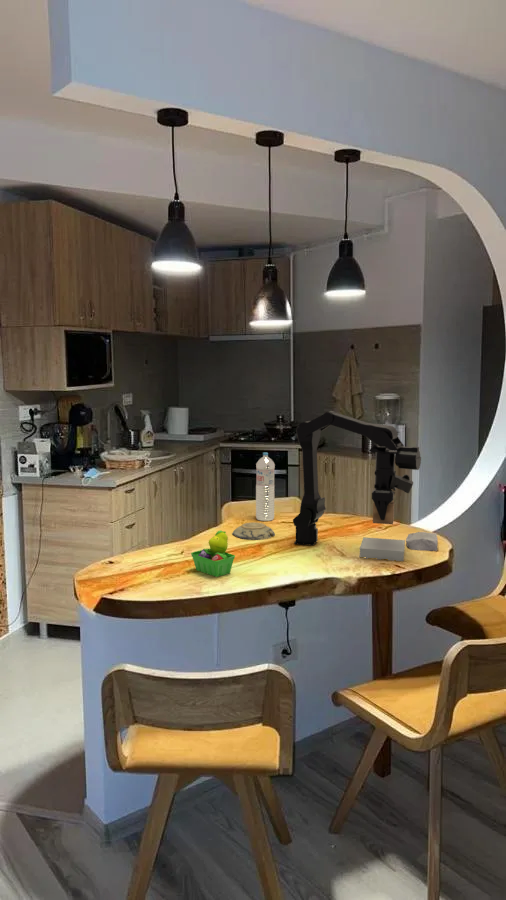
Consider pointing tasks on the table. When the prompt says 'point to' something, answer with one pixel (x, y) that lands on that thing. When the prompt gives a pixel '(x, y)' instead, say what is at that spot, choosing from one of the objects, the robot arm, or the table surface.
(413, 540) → the stone block
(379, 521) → the cube
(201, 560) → the fruit basket
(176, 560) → the table surface
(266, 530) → the decorative bowl
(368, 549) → the tile
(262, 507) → the water bottle
